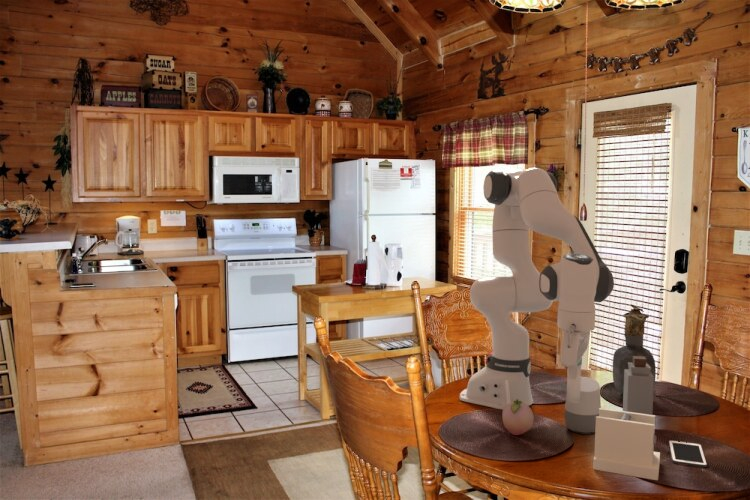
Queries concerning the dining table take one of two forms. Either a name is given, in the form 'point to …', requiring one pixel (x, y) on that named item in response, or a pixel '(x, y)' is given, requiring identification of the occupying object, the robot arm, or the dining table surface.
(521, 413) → the decorative fruit
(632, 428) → the tilted socket
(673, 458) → the cell phone
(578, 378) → the marker
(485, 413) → the dining table surface
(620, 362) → the dark decorative bottle
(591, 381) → the smart speaker
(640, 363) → the perfume bottle
